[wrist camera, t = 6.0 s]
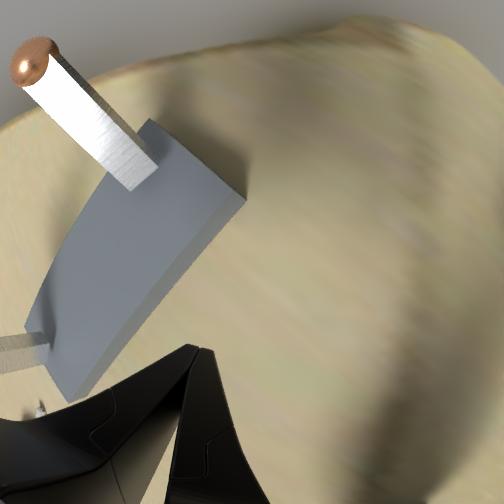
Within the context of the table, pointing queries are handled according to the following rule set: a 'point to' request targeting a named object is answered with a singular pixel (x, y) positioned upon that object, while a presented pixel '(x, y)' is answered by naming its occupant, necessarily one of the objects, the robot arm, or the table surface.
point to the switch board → (126, 260)
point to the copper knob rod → (82, 111)
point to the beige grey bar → (23, 351)
